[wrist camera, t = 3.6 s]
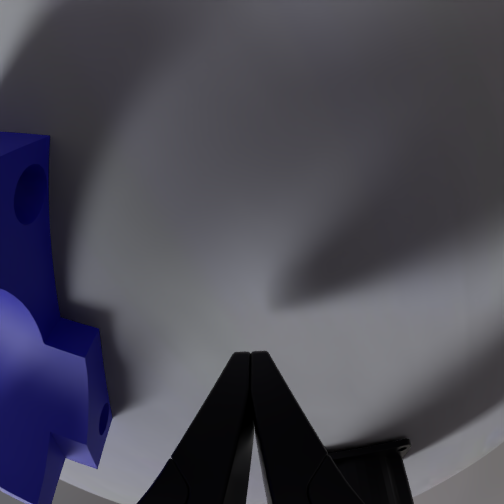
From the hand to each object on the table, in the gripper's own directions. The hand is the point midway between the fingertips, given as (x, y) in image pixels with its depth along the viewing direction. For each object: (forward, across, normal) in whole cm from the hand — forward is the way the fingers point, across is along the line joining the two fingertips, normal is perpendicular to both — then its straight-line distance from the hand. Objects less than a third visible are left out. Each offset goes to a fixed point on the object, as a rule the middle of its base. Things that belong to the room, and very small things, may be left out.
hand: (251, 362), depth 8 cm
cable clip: (+2, +7, 0) cm, 7 cm away
